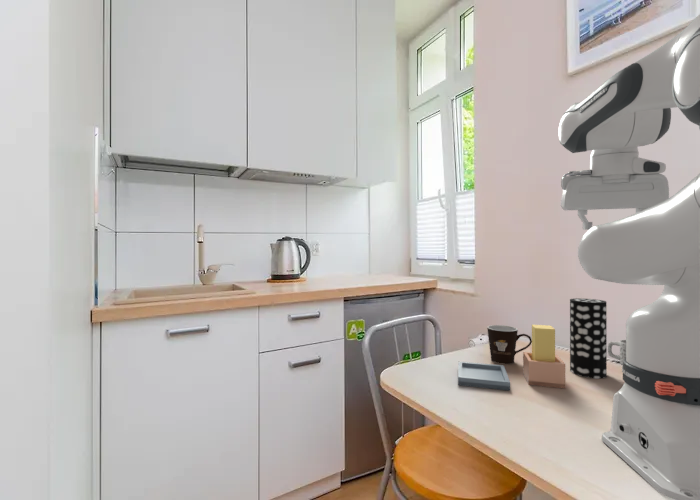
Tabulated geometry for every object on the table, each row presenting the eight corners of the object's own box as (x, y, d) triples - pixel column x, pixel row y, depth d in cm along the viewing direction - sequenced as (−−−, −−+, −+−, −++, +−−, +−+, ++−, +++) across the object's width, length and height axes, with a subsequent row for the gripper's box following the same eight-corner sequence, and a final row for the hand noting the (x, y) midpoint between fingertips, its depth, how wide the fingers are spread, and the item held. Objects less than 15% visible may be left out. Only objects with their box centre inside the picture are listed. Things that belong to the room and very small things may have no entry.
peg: (555, 381, 88) (555, 329, 88) (535, 379, 89) (535, 328, 89) (550, 374, 92) (550, 325, 92) (531, 373, 94) (531, 324, 94)
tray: (510, 390, 84) (510, 382, 84) (458, 385, 88) (458, 377, 88) (503, 372, 97) (503, 365, 97) (458, 368, 101) (458, 361, 101)
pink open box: (565, 388, 86) (565, 364, 86) (528, 384, 88) (528, 360, 88) (556, 377, 93) (556, 354, 93) (523, 373, 96) (523, 351, 96)
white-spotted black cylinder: (594, 368, 100) (594, 298, 100) (613, 379, 92) (613, 303, 92) (564, 367, 101) (564, 298, 101) (580, 378, 93) (580, 302, 93)
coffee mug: (481, 359, 108) (481, 327, 108) (496, 354, 114) (496, 323, 114) (518, 370, 99) (518, 334, 99) (533, 363, 104) (533, 330, 104)
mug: (652, 366, 102) (652, 343, 102) (643, 370, 99) (643, 346, 99) (612, 357, 111) (612, 336, 111) (602, 361, 107) (602, 339, 107)
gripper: (565, 170, 80) (564, 230, 81) (675, 163, 74) (671, 228, 76) (557, 173, 86) (556, 229, 87) (658, 167, 80) (655, 227, 82)
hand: (610, 229), depth 81 cm, fingers open, 8 cm apart
